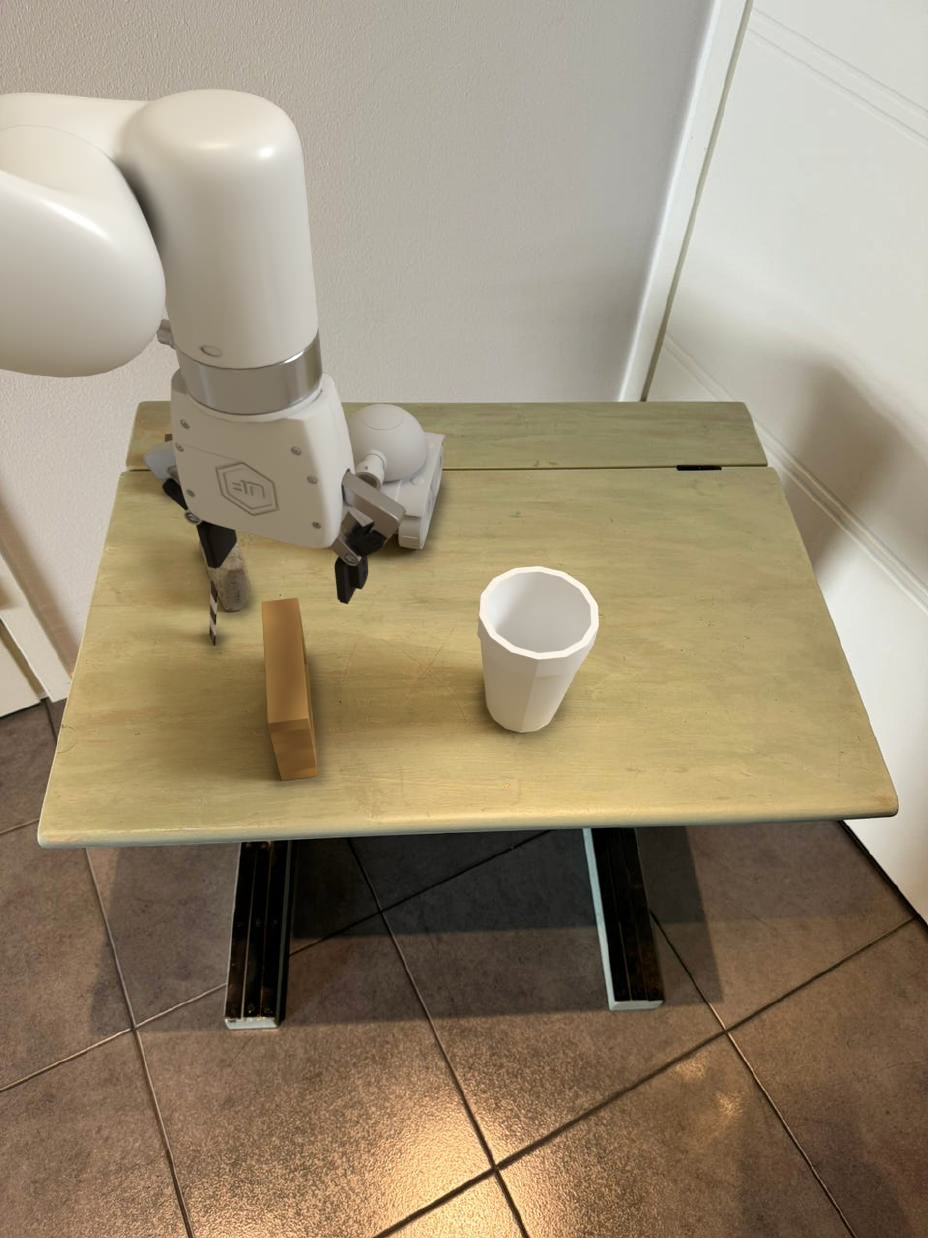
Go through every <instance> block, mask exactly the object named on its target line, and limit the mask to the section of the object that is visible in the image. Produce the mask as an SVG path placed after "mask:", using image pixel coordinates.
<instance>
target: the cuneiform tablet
mask: <svg viewBox="0 0 928 1238" xmlns="http://www.w3.org/2000/svg"><path fill="white" fill-rule="evenodd" d="M198 547H199V552H200V553H201V555H202V557H203V562H204V567H205V568H206V571H207V574H208V576H209V578H210V601H209V631H208V632H209V633H208V635H209V637H210V640H211V642H212V645H213V646H216V640H217V639H216V637H217V613H218V610H217V609H218V598H219V600H220V603H221V605H222V606H223V607H224V609H225V610H226V611H227V612H236V611H240V610H242V609H243V608H244V606H245V605H246V603H247V601H248V600H249V596H250V593H251V591H250V589H251V587H250V583H251V582H250V581H251V580H250V578H249V570H248V567H247V565H246V561H245V558H244V555H243V552H242V548H241V546H240V543H239V541H238V540H237V542H236V544H235V546H234V547H233V549H232V550H231V552H230V553H229V555H228V556H227V558H226V559H225V561H224V562H223V564H222V565H221V567H220V568H217V569H214V568H210V567H208V565H207V561H206V557H205V554H204V550H203V547H202V546H201V542H200V539H199V540H198Z"/></svg>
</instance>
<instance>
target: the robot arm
mask: <svg viewBox="0 0 928 1238" xmlns="http://www.w3.org/2000/svg"><path fill="white" fill-rule="evenodd" d="M306 184H307V183H306V172H305V163H304V155H303V149H302V142H301V139H300V135H299V132H298V130H297V128H296V126H295V124H294V122H293V121H292V120H291V118H290V117H289V115H288V114H287V113H286V112H285V111H284V110H283V109H282V108H281V107H279V106H278V105H277V104H275V103H274V102H273V101H271V100H268V99H267V98H265V97H263V96H260V95H257V94H253V93H249V92H245V91H240V90H233V89H223V88H200V89H191V90H185V91H180V92H175V93H172V94H169V95H165V96H162V97H159V98H157V99H154V100H138V99H137V100H135V99H119V98H118V99H117V98H107V97H105V98H103V97H91V96H80V95H73V94H60V93H48V92H32V91H29V92H27V91H26V92H8V93H3V94H0V370H4V371H9V372H15V373H20V374H23V375H29V376H38V377H39V376H40V377H48V378H49V377H51V378H62V379H64V378H65V379H67V378H83V377H91V376H92V377H93V376H96V375H100V374H106V373H109V372H111V371H114V370H116V369H119V368H122V367H123V366H125V365H128V363H130V362H131V361H133V360H134V359H135V358H137V357H139V355H140V354H141V353H142V352H143V351H144V350H146V348H147V347H148V346H149V345H150V344H151V342H153V339H154V338H155V336H156V338H157V341H158V342H159V344H162V345H166V346H169V347H170V348H171V349H173V350H175V354H176V358H177V363H178V366H179V368H178V369H176V371H175V372H174V373H173V375H172V376H171V380H170V426H171V434H172V438H173V440H171V441H167V442H165V441H162V442H159V443H155V444H153V445H152V446H151V447H150V448H149V449H148V451H147V452H146V453H145V454H144V455H143V456H142V462H143V463H144V464H145V466H146V467H147V468H148V469H149V471H150V472H151V473H152V474H153V476H154V477H155V478H156V479H157V480H158V481H160V482H161V483H162V486H161V488H162V490H163V492H164V493H165V495H167V496H168V497H169V498H170V499H171V500H173V501H174V502H175V503H176V504H177V505H179V506H180V507H181V508H182V509H183V510H184V512H183V517H184V519H185V520H186V521H187V522H188V523H189V524H191V525H193V526H195V527H196V531H197V535H198V539H199V540H200V542H201V546H202V547H203V550H204V554H205V557H206V561H207V565H208V567H210V568H214V569H217V568H220V567H221V565H222V564H223V562H224V561H225V559H226V558H227V556H228V555H229V553H230V552H231V550H232V549H233V547H234V546H235V544H236V542H237V541H238V536H237V532H242V533H244V534H250V535H252V536H256V537H259V538H260V537H261V538H264V539H269V540H272V541H276V542H280V543H283V544H284V543H285V544H289V545H293V546H298V547H301V548H306V549H315V550H317V549H319V550H320V549H326V548H330V549H331V550H332V551H333V552H334V553H335V554H336V556H337V558H336V560H335V561H334V567H333V568H334V578H335V587H336V597H337V600H338V601H339V603H341V604H346V605H348V604H349V603H350V602H351V599H352V598H353V596H354V593H355V592H356V590H357V589H358V590H363V588H364V587H365V585H366V583H367V580H368V576H369V559H368V556H369V555H372V554H374V553H375V552H378V551H380V550H382V549H383V548H384V546H385V544H386V543H387V542H388V541H389V540H390V539H391V537H392V536H393V535H395V534H394V532H395V531H396V530H397V529H398V527H399V526H400V524H401V522H402V520H403V518H404V516H405V514H406V510H405V508H404V507H403V506H402V505H400V504H399V503H397V502H396V501H394V500H392V499H391V498H389V497H388V496H386V495H385V494H383V493H382V492H380V491H379V490H377V489H375V488H374V487H372V486H371V485H369V484H368V483H366V482H365V481H363V480H362V479H360V478H358V477H357V476H355V470H354V461H353V455H352V449H351V443H350V438H349V433H348V428H347V424H346V421H347V420H346V416H345V412H344V408H343V406H342V403H341V399H340V395H339V392H338V389H337V388H336V387H337V386H336V384H335V381H334V379H333V377H332V375H330V374H328V373H326V372H324V371H323V362H322V361H323V360H322V349H321V339H320V337H321V336H320V327H319V317H318V306H317V293H316V285H315V284H316V283H315V274H314V264H313V263H314V262H313V253H312V241H311V240H312V239H311V229H310V217H309V206H308V194H307V185H306ZM165 311H166V313H167V318H168V319H166V318H163V315H164V313H165ZM353 507H354V508H355V509H357V510H359V511H360V512H362V513H363V514H365V515H366V516H368V517H370V518H371V519H372V520H373V522H371V523H369V524H367V523H366V522H365V521H364V519H363V518H362V517H361V516H360V515H359V514H358V513H357V512H356V511H355V509H354V508H353ZM341 524H343V525H344V526H345V527H346V528H347V529H348V530H349V531H350V533H349V535H348V536H347V537H346V536H345V535H344V534H343V533H342V532H341V531H340V528H341ZM236 531H237V532H236Z"/></svg>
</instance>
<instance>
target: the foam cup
mask: <svg viewBox="0 0 928 1238" xmlns="http://www.w3.org/2000/svg"><path fill="white" fill-rule="evenodd" d="M479 599H480V600H479V607H478V610H479V611H478V621H477V634H476V635H477V637H478V639H479V642H480V652H481V662H482V672H483V681H484V682H483V683H484V691H485V692H484V694H485V703H486V708H487V710H488V712H489V714H490V716H491V718H492V720H493V721H495V722H496V723H498V724H499V725H500V726H501V727H503V728H504V729H506V730H509V731H512V732H516V733H520V734H522V733H532V732H537V731H539V730H541V729H542V728H544V727H546V726H548V725H549V724H550V722H551V721H552V719H553V717H554V716H555V714H556V713H557V711H558V709H559V707H560V705H561V703H562V701H563V700H564V698H565V695H566V694H567V692H568V689H569V688H570V686H571V684H572V682H573V680H574V678H575V676H576V674H577V672H578V670H579V668H580V666H581V665H582V664H583V663H584V662H585V660H586V658H587V657H588V655H589V653H590V651H591V650H592V648H593V646H594V645H595V641H596V638H597V634H598V631H599V627H600V622H599V605H598V603H597V601H596V600H595V598H594V597H593V596H592V594H591V592H590V591H589V589H588V588H587V586H586V585H585V584H583V583H581V582H580V581H579V580H577V579H575V578H574V577H572V576H571V575H570V574H568V573H566V572H565V571H561V570H558V569H557V570H556V569H554V568H549V567H545V566H542V565H537V566H536V565H534V566H524V567H513V568H512V569H510V570H508V571H505V572H503V573H502V574H500V575H497V576H494V577H493V578H492V580H491V581H490V582H489V583H488V585H487V586H486V588H485V589H484V590H483V592H482V593H481V594H480V597H479Z"/></svg>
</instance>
